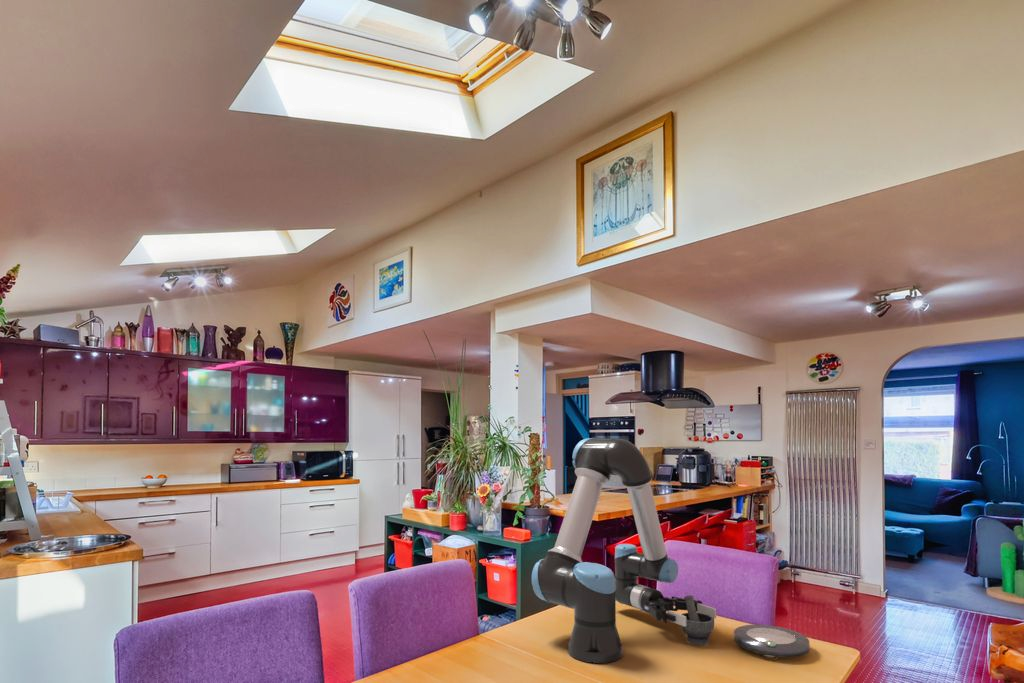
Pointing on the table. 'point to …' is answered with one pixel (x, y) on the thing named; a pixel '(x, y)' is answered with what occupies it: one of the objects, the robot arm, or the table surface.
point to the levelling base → (771, 641)
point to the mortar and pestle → (697, 624)
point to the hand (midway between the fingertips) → (700, 617)
